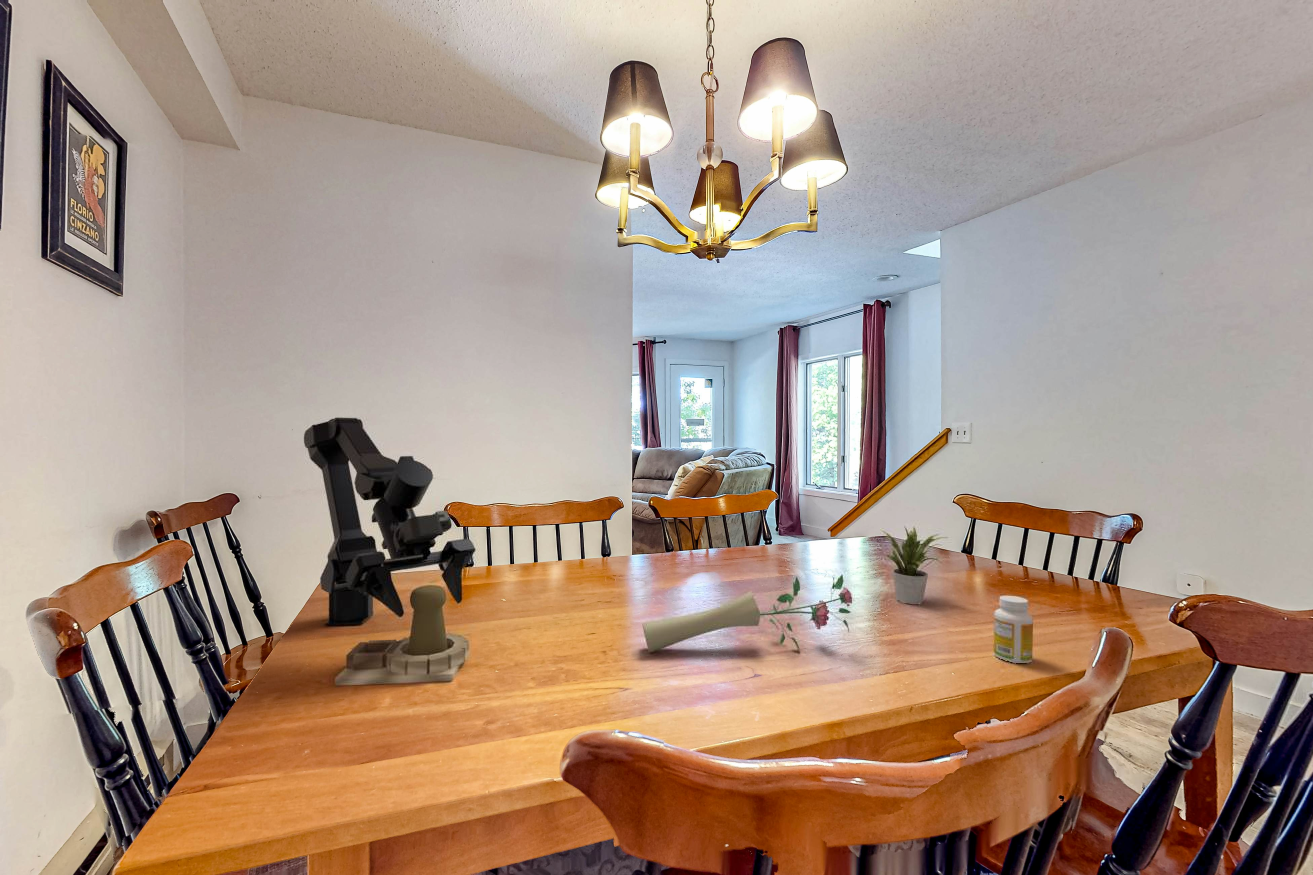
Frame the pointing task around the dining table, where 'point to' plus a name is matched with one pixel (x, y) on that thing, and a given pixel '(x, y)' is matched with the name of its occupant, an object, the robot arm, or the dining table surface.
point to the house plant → (910, 567)
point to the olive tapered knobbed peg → (427, 621)
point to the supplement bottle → (1013, 630)
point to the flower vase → (734, 618)
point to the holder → (401, 663)
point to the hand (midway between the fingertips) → (432, 608)
